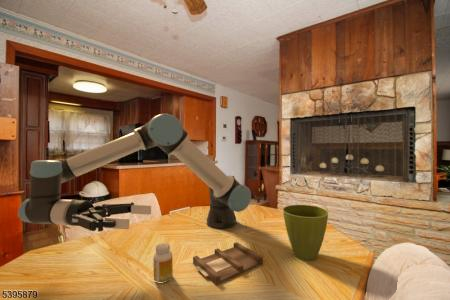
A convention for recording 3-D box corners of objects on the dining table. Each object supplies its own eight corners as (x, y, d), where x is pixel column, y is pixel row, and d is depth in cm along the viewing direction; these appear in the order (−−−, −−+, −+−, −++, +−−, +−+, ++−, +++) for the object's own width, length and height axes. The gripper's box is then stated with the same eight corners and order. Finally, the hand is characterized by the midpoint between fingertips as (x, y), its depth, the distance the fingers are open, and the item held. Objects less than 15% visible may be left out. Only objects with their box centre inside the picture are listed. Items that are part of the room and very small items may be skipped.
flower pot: (325, 272, 66) (325, 220, 65) (277, 259, 73) (277, 212, 73) (331, 251, 78) (330, 208, 78) (289, 242, 86) (289, 203, 86)
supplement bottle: (176, 275, 65) (175, 243, 65) (165, 285, 60) (165, 251, 60) (161, 271, 67) (160, 240, 67) (149, 282, 62) (149, 248, 62)
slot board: (190, 264, 71) (190, 257, 71) (236, 248, 82) (236, 242, 82) (212, 286, 60) (212, 278, 59) (263, 263, 71) (263, 256, 71)
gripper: (100, 213, 78) (157, 216, 76) (34, 241, 53) (115, 247, 52) (101, 192, 78) (157, 195, 76) (35, 211, 54) (116, 215, 52)
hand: (140, 216), depth 64 cm, fingers open, 13 cm apart
